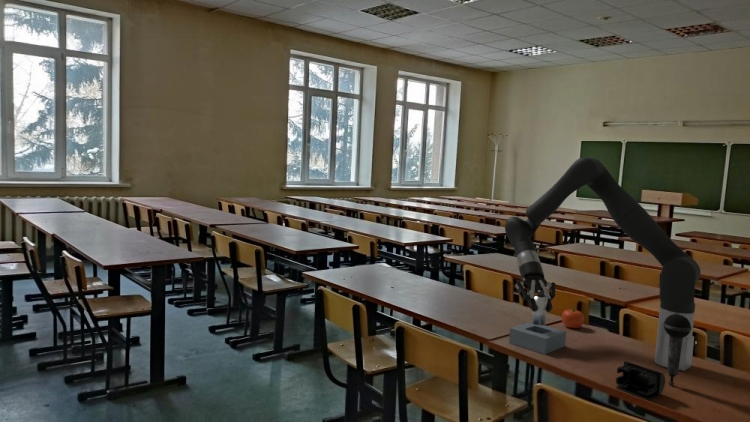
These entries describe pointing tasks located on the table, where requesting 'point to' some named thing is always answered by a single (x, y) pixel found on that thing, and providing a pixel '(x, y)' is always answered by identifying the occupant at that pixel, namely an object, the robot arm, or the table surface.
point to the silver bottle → (540, 309)
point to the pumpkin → (572, 318)
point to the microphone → (675, 341)
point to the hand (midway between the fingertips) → (542, 310)
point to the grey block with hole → (537, 337)
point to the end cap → (640, 381)
